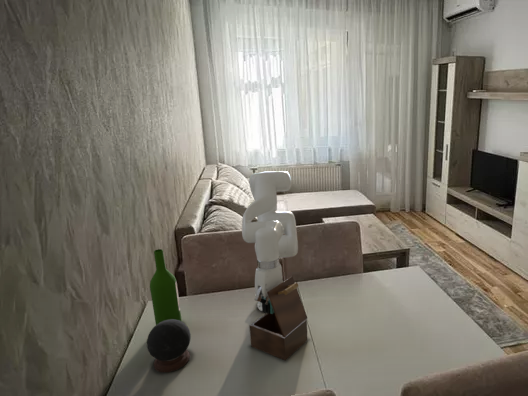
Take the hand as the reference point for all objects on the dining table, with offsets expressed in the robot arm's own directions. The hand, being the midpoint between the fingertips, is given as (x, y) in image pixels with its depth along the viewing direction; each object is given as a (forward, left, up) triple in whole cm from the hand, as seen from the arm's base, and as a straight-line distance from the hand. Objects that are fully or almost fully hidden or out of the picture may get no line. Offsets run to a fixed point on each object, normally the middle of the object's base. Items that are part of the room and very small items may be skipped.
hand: (271, 308), depth 138 cm
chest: (+3, 0, -14) cm, 14 cm away
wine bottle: (-41, -13, -14) cm, 45 cm away
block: (0, 0, 0) cm, 0 cm away
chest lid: (+7, 0, +3) cm, 8 cm away
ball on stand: (-23, -25, -14) cm, 37 cm away
